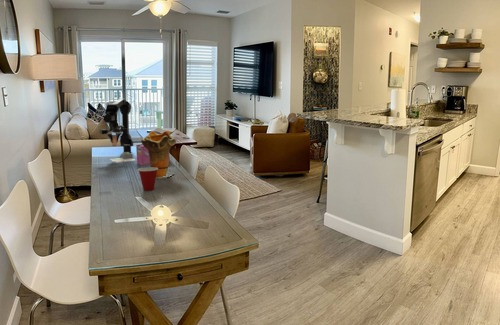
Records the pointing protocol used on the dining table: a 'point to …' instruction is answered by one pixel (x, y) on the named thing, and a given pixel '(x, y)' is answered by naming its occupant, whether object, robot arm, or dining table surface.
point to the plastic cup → (148, 177)
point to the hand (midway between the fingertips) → (114, 142)
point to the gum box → (143, 155)
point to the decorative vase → (159, 151)
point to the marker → (114, 140)
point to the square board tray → (124, 158)
